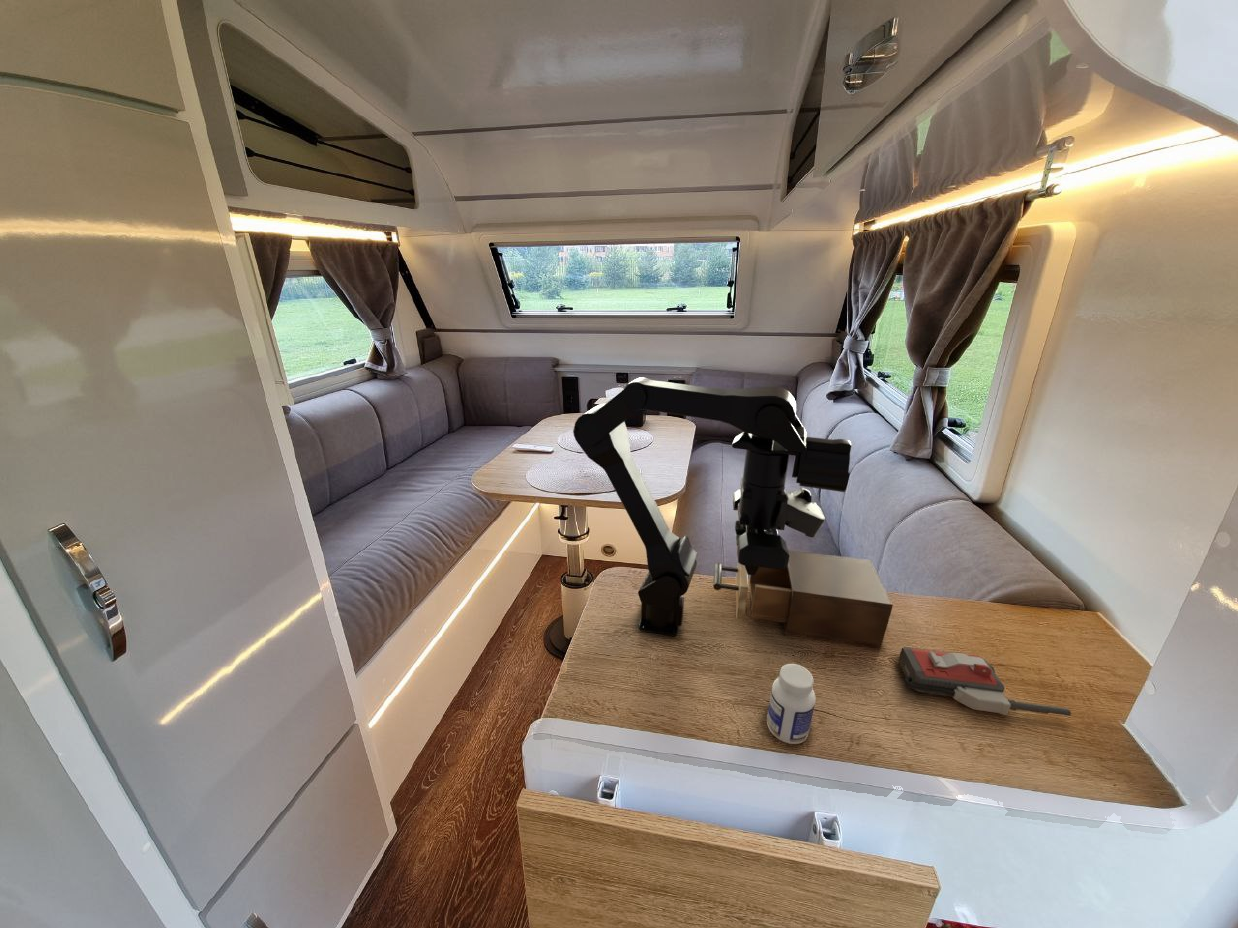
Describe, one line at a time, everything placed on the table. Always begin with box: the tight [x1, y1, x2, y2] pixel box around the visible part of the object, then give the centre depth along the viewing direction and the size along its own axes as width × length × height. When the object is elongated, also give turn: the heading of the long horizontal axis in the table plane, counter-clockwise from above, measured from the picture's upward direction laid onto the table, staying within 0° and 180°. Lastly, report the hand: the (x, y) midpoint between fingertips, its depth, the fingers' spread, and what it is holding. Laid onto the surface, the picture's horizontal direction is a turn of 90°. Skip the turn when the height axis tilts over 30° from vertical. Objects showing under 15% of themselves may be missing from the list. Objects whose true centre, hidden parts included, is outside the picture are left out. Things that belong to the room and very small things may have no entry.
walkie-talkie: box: [897, 646, 1072, 717], centre depth 67 cm, size 9×4×20 cm
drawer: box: [712, 562, 792, 624], centre depth 83 cm, size 18×11×7 cm, turn 78°
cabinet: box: [783, 549, 894, 650], centre depth 81 cm, size 15×13×9 cm
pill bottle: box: [766, 663, 817, 745], centre depth 60 cm, size 5×5×9 cm
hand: (751, 573), depth 72 cm, fingers closed
